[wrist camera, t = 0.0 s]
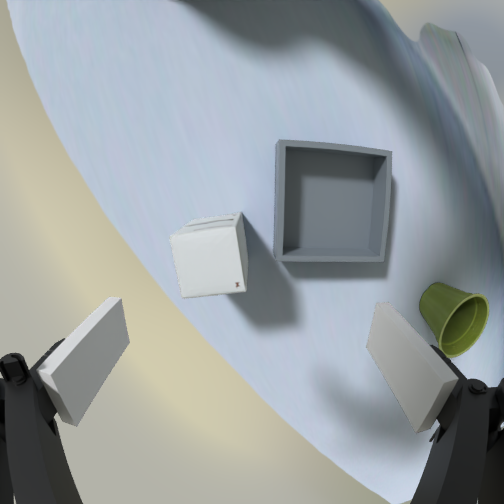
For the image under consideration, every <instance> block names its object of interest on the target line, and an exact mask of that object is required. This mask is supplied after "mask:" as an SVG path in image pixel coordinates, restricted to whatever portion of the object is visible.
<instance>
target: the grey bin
mask: <svg viewBox="0 0 504 504" xmlns="http://www.w3.org/2000/svg"><path fill="white" fill-rule="evenodd" d="M391 176H392V151H387V150H381V149H374V148H367V147H360V146H352V145H343V144H334V143H323V142H311V141H297V140H279V141H278V142H277V143H276V162H275V210H274V244H273V252H274V256H275V259H276V261H290V262H384V257H385V250H386V241H387V232H388V222H389V211H390V197H391Z"/></svg>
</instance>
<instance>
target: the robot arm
mask: <svg viewBox="0 0 504 504" xmlns="http://www.w3.org/2000/svg"><path fill="white" fill-rule="evenodd" d="M129 343H130V341H129V337H128V332H127V327H126V322H125V317H124V311H123V305H122V299H121V298H116V297H108V298H107V299H106V300H105V301H104V302H103V303H102V304H101V305H100V306H99V307H98V308H97V309H96V310H95V311H94V312H92V313H91V314H90V315H89V316H88V317H87V318H86V319H85V320H84V321H83V322H82V323H81V324H80V325H79V326H78V327H77V328H76V329H75V330H74V331H73V332H72V333H71V334H70V335H69V336H68V337H67V338H66V339H65V338H64V339H62V340H60V341H58V342H57V343H55V344H54V345H53V346H52V347H51V348H50V349H49V351H47V352H46V353H45V355H43V356H42V357H41V358H40V359H39V361H37V363H36V364H35V365H34V366H33V367H32V368H31V369H30V370H29V369H28V366H27V364H26V362H25V359H24V357H23V356H22V355H21V354H19V353H10V354H7V355H5V356H4V357H2V358H1V359H0V372H1V374H2V376H3V378H4V379H3V378H0V504H14V496H15V500H16V504H83V503H82V500H81V498H80V496H79V493H78V491H77V488H76V485H75V483H74V480H73V477H72V475H71V472H70V469H69V466H68V463H67V460H66V456H65V453H64V450H63V446H62V443H61V439H60V435H59V431H58V427H57V423H56V421H55V419H54V416H55V414H56V413H57V412H58V414H59V416H60V418H61V419H62V421H63V422H65V423H68V424H71V425H74V426H76V427H77V426H78V424H79V422H80V421H81V419H82V417H83V416H84V414H85V412H86V411H87V409H88V407H89V405H90V404H91V402H92V401H93V399H94V397H95V396H96V394H97V393H98V391H99V389H100V388H101V386H102V385H103V383H104V381H105V380H106V378H107V377H108V375H109V374H110V372H111V370H112V369H113V367H114V366H115V364H116V363H117V361H118V360H119V358H120V356H121V355H122V353H123V352H124V350H125V349H126V347H127V346H128V344H129ZM366 348H367V349H368V351H369V353H370V354H371V356H372V358H373V359H374V361H375V363H376V364H377V366H378V368H379V369H380V371H381V373H382V374H383V376H384V378H385V380H386V381H387V383H388V385H389V386H390V388H391V390H392V392H393V393H394V395H395V397H396V399H397V400H398V402H399V404H400V406H401V407H402V409H403V411H404V413H405V415H406V416H407V418H408V420H409V422H410V424H411V425H412V427H413V429H414V431H415V433H419V432H422V431H425V430H428V429H431V427H432V425H433V424H434V422H435V421H436V419H437V420H438V422H439V423H440V425H439V427H438V428H437V430H436V431H435V433H434V434H433V436H432V437H431V439H430V441H429V442H432V440H433V439H434V441H433V445H432V448H431V451H430V454H429V457H428V460H427V463H426V466H425V469H424V472H423V474H422V477H421V479H420V482H419V484H418V487H417V489H416V492H415V494H414V496H413V499H412V501H411V503H410V504H476V503H477V500H478V504H504V428H503V430H501V427H500V426H501V424H502V423H503V421H504V378H503V379H502V380H501V382H500V384H499V385H498V387H491V388H488V387H487V385H486V384H485V383H483V382H482V381H480V380H478V379H468V380H467V378H466V377H465V376H464V375H463V374H462V373H461V372H460V370H459V369H458V368H457V367H456V366H455V365H454V364H453V363H451V360H450V359H449V358H447V356H446V355H445V354H444V353H443V352H442V351H441V350H440V349H438V348H437V347H435V346H433V345H429V344H428V343H427V342H426V341H425V340H424V339H423V338H422V337H421V336H420V335H419V333H418V332H417V331H416V330H415V329H414V328H413V327H412V326H411V325H410V324H409V323H408V322H407V321H406V320H405V319H404V318H403V317H402V316H401V315H400V313H399V312H398V311H397V310H396V309H395V308H394V307H393V306H392V305H391V304H390V303H389V302H386V303H376V306H375V311H374V316H373V320H372V325H371V329H370V333H369V337H368V342H367V345H366Z"/></svg>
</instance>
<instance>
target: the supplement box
mask: <svg viewBox="0 0 504 504" xmlns="http://www.w3.org/2000/svg"><path fill="white" fill-rule="evenodd" d="M169 239H170V243H171V248H172V253H173V258H174V263H175V268H176V273H177V278H178V283H179V288H180V293H181V297H182V298H184V299H185V298H195V297H204V296H215V295H222V294H230V293H239V292H246V291H247V277H248V251H247V243H246V236H245V229H244V223H243V216H242V212H237V213H232V214H226V215H219V216H212V217H205V218H197V219H193V220H192V221H190V222H189V223H187V224H186V225H184V226H183V227H182V228H180V229H179V230H178V231H176V232H175V233H174V234H172V235H171V236H170V237H169Z"/></svg>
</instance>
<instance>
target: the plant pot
mask: <svg viewBox="0 0 504 504" xmlns="http://www.w3.org/2000/svg"><path fill="white" fill-rule="evenodd" d="M419 307H420V312H421V314H422V315H423V317H424V319H425V320H426V322H427V323H428V325H429V326H430V328H431V330H432V331H433V333H434V335H435V336H436V340H437V342H438V344H439V349H440V350H441V351H442V352H443V353H444V354H445V355H446V356H447V358H453V357H457V356H459V355H461V354H463V353H464V352H466V351H467V350H468V349H470V348H471V347H472V346H473V345H474V343H475V342H476V341H477V340H478V338H479V337H480V335H481V334H482V332H483V330H484V328H485V326H486V323H487V320H488V316H489V303H488V300H487V298H486V297H485V296H484V295H482V294H472V293H466V292H463V291H461V290H458V289H456V288H453V287H451V286H448V285H445V284H443V283H435V284H432V285H431V286H430V287H429V288H428V289H427V290H426V291H425V292H424V293H423V295H422V297H421V300H420V306H419Z"/></svg>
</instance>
